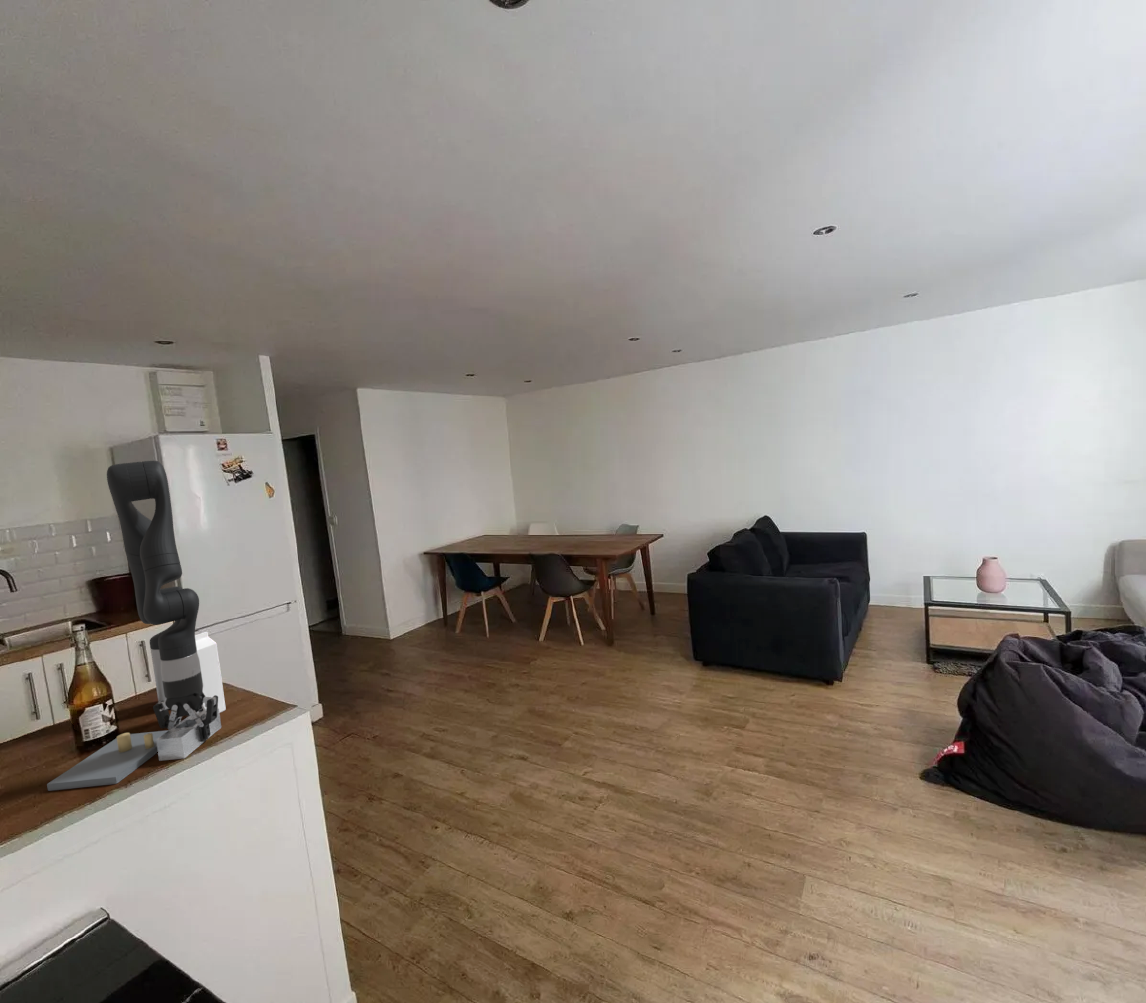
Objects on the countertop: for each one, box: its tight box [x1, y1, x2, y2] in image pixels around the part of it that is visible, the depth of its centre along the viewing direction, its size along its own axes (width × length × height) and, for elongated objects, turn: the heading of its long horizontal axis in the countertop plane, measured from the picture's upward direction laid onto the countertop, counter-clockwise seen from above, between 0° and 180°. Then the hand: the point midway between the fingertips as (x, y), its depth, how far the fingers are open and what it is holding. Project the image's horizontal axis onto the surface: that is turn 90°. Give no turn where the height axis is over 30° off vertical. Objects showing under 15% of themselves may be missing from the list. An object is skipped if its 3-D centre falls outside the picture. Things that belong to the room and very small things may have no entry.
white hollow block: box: [156, 709, 222, 762], centre depth 128 cm, size 14×6×5 cm, turn 3°
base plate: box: [46, 730, 169, 791], centre depth 123 cm, size 20×14×5 cm
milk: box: [195, 631, 227, 714], centre depth 143 cm, size 6×6×22 cm
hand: (191, 741), depth 129 cm, fingers closed on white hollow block, 5 cm apart
